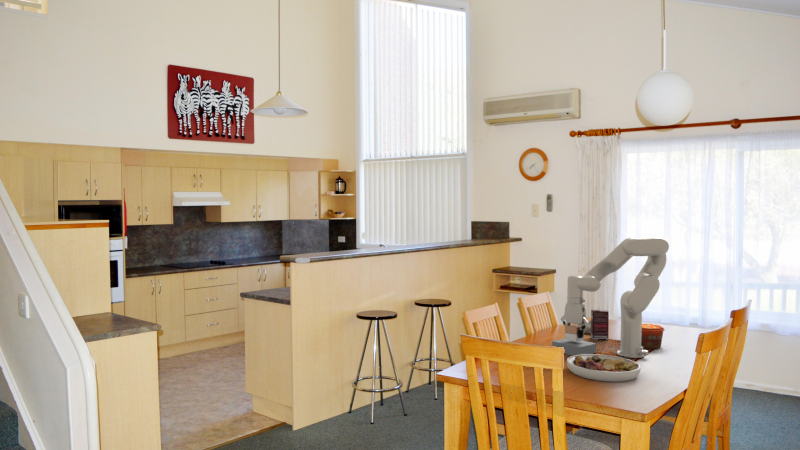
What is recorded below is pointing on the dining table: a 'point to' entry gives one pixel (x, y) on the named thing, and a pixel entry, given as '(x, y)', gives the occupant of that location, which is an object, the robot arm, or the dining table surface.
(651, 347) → the food container
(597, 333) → the supplement box
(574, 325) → the housing
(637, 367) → the bowl
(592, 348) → the stand
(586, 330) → the ceramic sculpture
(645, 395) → the dining table surface
